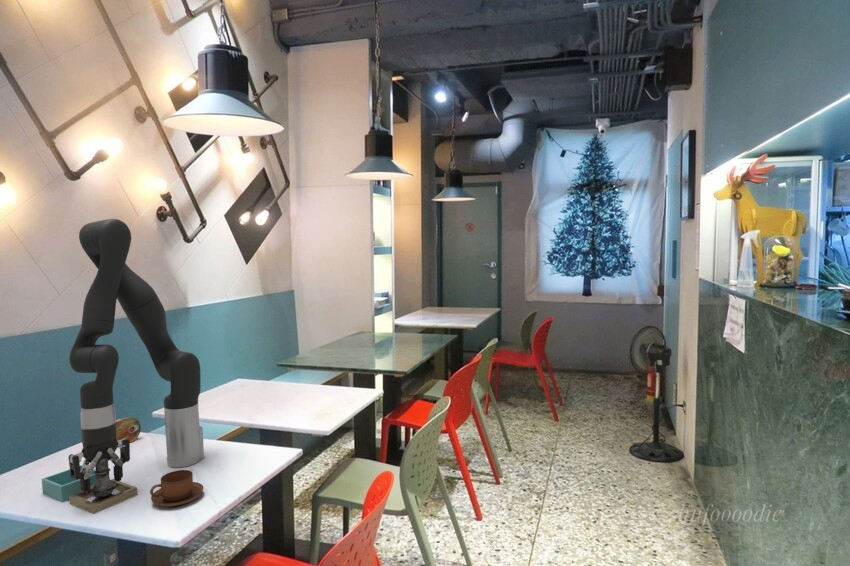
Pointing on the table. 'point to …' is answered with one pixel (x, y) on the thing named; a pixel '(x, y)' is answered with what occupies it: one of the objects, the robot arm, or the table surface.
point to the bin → (64, 485)
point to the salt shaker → (102, 482)
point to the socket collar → (91, 507)
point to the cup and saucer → (176, 489)
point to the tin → (127, 428)
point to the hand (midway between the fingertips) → (102, 486)
